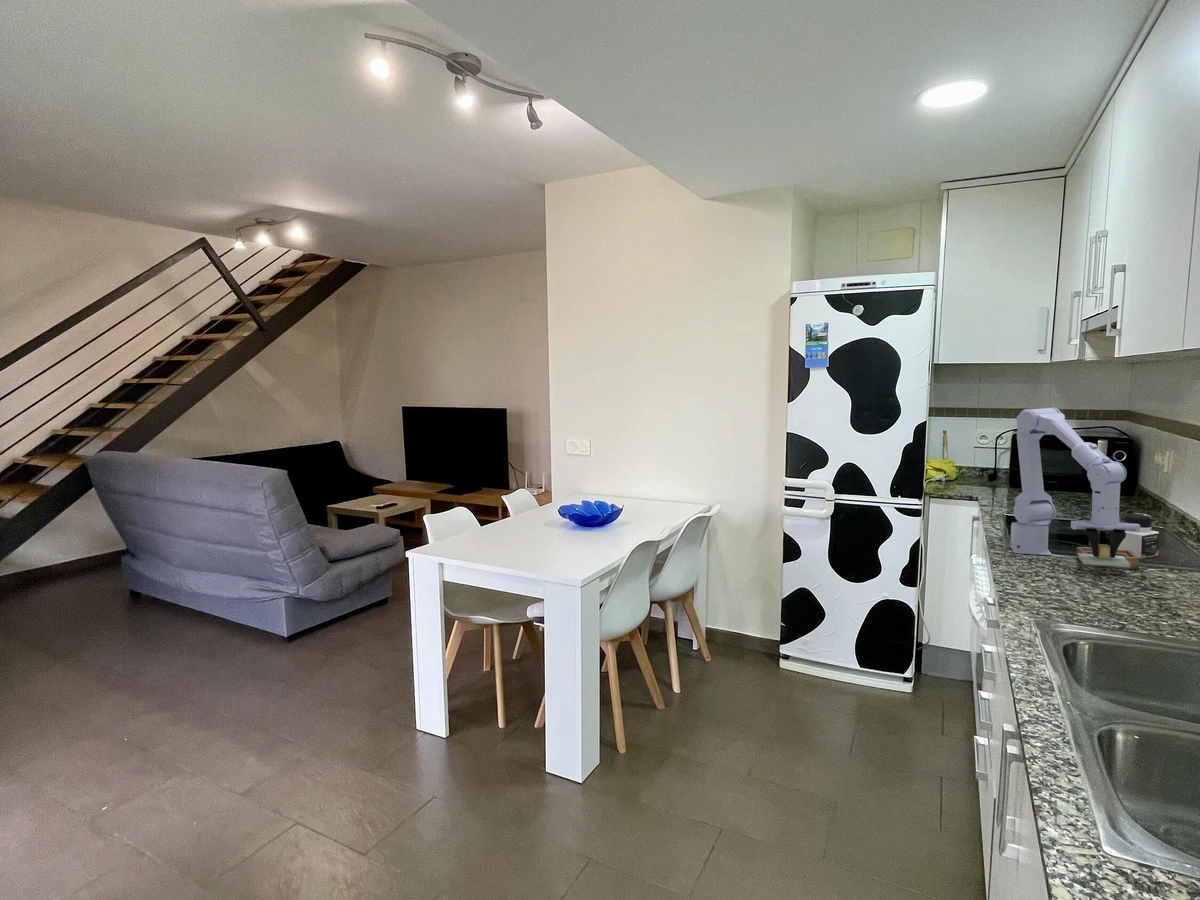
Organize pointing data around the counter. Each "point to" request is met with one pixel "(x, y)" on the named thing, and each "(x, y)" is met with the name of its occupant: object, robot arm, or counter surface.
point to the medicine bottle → (1141, 537)
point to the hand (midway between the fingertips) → (1103, 556)
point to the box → (1125, 553)
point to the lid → (1104, 558)
